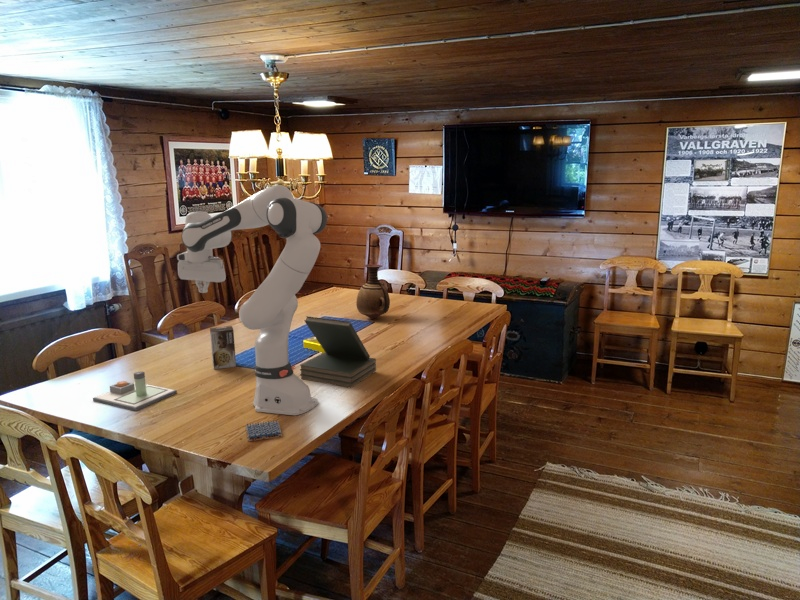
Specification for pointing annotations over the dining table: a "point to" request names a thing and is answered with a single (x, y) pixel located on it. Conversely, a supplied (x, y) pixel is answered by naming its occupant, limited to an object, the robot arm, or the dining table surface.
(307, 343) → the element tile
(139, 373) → the marker
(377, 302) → the vase
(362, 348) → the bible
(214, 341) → the coffee box
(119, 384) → the button
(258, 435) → the woven mat
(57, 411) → the dining table surface
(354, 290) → the dining table surface
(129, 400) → the cream board with holder
